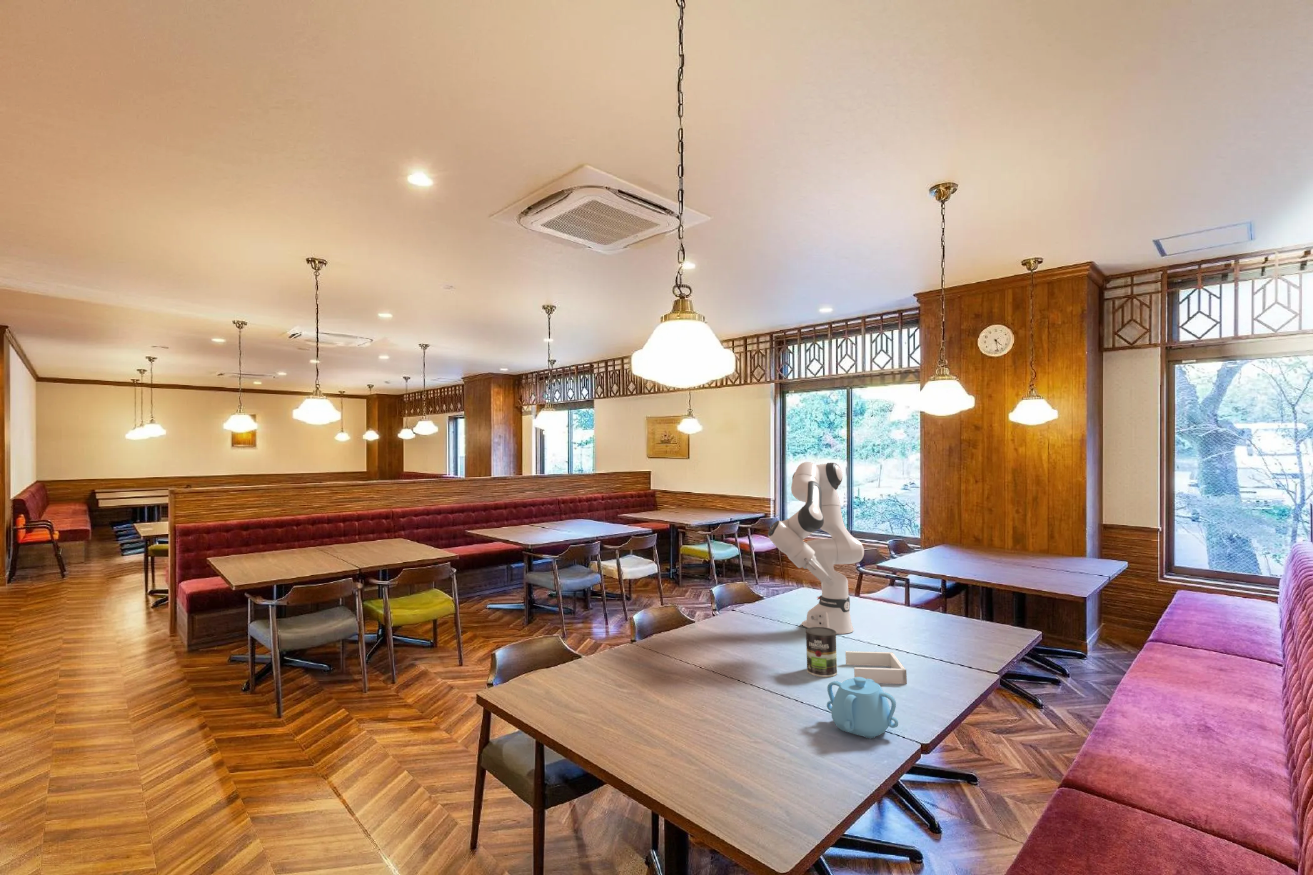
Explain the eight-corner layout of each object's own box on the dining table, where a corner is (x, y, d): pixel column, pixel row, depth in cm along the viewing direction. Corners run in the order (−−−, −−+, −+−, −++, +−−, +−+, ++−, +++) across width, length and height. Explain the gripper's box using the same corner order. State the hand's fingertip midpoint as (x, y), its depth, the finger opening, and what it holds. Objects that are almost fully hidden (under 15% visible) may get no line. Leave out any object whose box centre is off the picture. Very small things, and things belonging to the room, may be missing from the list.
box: (855, 682, 189) (854, 668, 189) (845, 663, 206) (845, 651, 206) (906, 684, 186) (906, 670, 186) (893, 665, 203) (892, 652, 204)
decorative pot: (824, 715, 165) (822, 668, 166) (880, 714, 165) (878, 666, 165) (840, 743, 149) (838, 690, 149) (903, 742, 148) (900, 689, 149)
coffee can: (834, 679, 192) (833, 636, 192) (803, 674, 196) (802, 633, 197) (840, 669, 201) (838, 628, 201) (810, 664, 206) (809, 625, 206)
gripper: (812, 555, 206) (842, 582, 204) (806, 546, 226) (832, 571, 224) (800, 567, 206) (829, 595, 204) (795, 558, 226) (821, 583, 224)
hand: (831, 582), depth 214 cm, fingers open, 5 cm apart
